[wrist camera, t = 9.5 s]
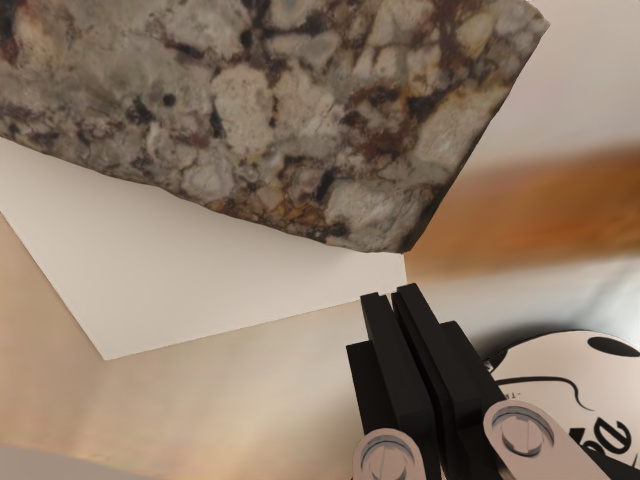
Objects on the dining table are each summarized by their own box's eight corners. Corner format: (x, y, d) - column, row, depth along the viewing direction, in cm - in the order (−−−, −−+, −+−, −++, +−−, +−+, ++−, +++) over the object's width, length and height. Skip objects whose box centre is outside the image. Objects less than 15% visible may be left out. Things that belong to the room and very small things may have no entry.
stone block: (479, 27, 19) (71, -233, 14) (586, 2, 13) (-91, -505, 7) (370, 237, 24) (21, 109, 18) (411, 295, 17) (-110, 125, 11)
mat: (350, -131, 15) (351, -135, 15) (406, 286, 25) (407, 288, 25) (-142, -1, 16) (-149, -2, 15) (107, 357, 26) (105, 360, 25)
